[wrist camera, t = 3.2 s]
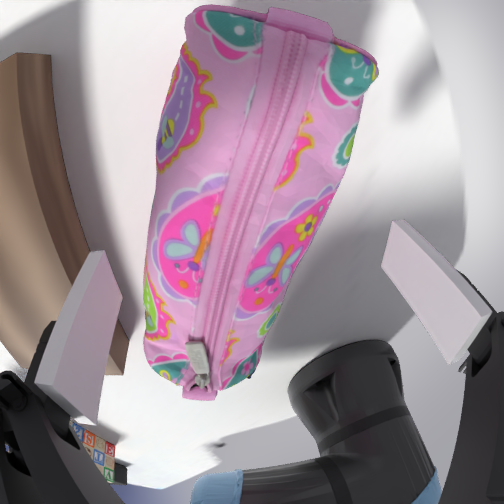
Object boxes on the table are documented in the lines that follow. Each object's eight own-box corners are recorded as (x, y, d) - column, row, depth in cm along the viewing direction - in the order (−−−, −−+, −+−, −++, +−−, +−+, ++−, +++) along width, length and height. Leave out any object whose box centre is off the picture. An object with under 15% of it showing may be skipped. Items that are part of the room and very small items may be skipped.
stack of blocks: (116, 445, 42) (114, 496, 31) (97, 445, 42) (93, 492, 32) (36, 396, 30) (22, 459, 20) (20, 397, 30) (7, 454, 20)
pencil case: (248, 321, 25) (266, 411, 17) (145, 308, 22) (131, 402, 15) (338, 69, 14) (437, 68, 7) (195, 26, 12) (183, -35, 4)
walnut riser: (50, 55, 10) (16, 52, 7) (129, 341, 24) (123, 375, 21) (-54, 121, 9) (-83, 133, 6) (33, 340, 23) (22, 367, 19)
